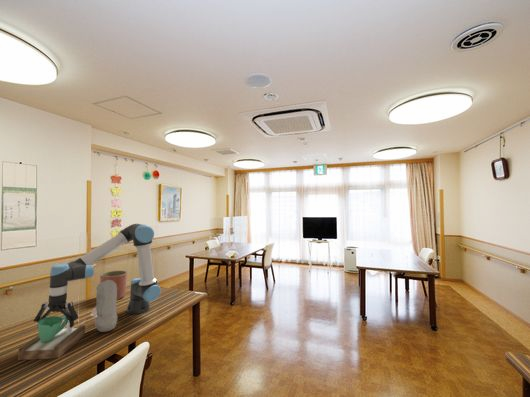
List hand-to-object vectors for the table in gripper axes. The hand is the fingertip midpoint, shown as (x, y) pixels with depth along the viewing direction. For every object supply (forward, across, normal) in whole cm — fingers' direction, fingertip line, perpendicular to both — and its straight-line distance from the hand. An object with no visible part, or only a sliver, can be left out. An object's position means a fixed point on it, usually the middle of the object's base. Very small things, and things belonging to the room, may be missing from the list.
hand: (55, 333), depth 130 cm
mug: (+2, +2, 0) cm, 3 cm away
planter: (+7, +2, -71) cm, 71 cm away
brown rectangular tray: (+7, 0, 0) cm, 7 cm away
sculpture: (+7, -18, -16) cm, 25 cm away
